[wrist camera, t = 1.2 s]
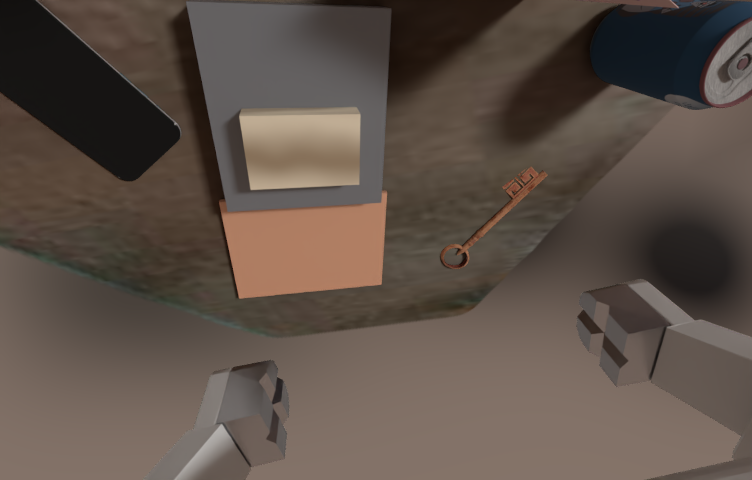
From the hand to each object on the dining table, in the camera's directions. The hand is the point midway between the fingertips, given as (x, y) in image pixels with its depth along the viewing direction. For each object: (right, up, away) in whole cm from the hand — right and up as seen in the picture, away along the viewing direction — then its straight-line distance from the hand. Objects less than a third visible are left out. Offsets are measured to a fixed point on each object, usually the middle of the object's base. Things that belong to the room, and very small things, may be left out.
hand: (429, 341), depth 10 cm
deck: (-8, +14, +23) cm, 28 cm away
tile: (-7, +11, +22) cm, 26 cm away
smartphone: (-25, +14, +20) cm, 35 cm away
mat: (-8, +2, +31) cm, 32 cm away
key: (+11, +6, +34) cm, 36 cm away
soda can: (+21, +21, +25) cm, 39 cm away
